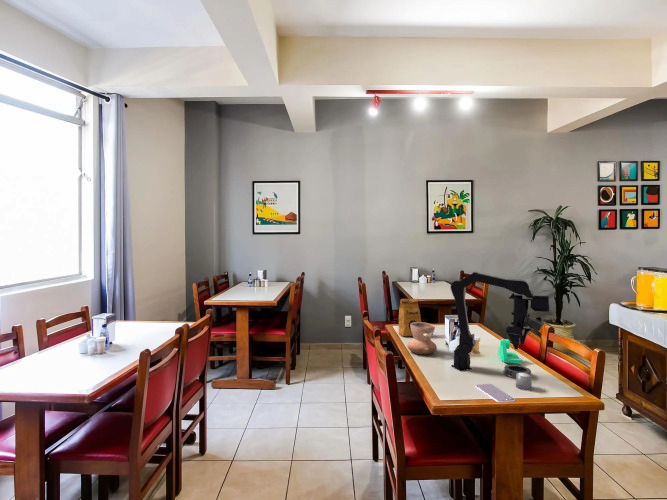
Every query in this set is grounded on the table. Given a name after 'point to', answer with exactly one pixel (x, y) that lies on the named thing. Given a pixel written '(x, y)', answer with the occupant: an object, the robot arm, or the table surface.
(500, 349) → the camera mount
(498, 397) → the mobile phone
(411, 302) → the coffee package
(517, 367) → the dark grey ashtray
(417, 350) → the ceramic jug
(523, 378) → the cap
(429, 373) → the table surface
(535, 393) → the table surface
